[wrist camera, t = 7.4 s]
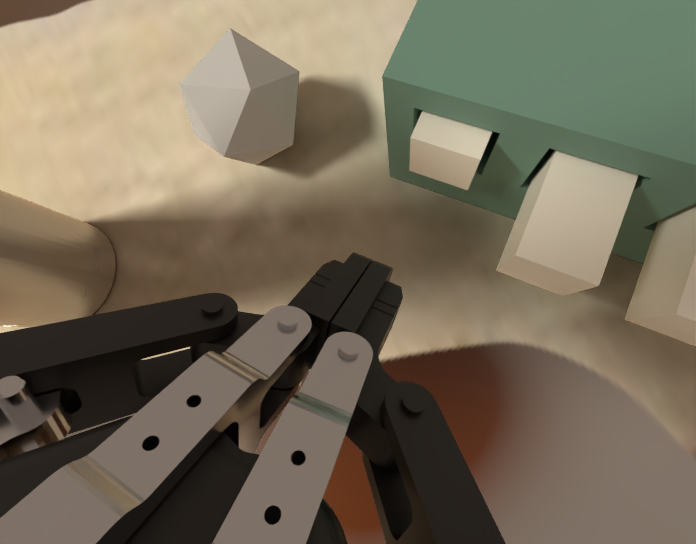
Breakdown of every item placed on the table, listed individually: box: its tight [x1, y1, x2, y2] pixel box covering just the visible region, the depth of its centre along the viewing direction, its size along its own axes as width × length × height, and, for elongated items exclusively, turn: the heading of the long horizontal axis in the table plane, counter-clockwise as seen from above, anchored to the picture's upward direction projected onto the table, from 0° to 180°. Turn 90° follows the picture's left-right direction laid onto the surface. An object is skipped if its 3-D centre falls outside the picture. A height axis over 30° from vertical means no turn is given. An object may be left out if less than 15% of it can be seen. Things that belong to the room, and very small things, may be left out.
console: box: [382, 0, 696, 264], centre depth 19 cm, size 22×10×16 cm, turn 66°
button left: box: [409, 111, 492, 190], centre depth 21 cm, size 4×6×4 cm, turn 156°
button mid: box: [496, 150, 638, 296], centre depth 19 cm, size 4×6×4 cm, turn 156°
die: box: [179, 29, 299, 165], centre depth 27 cm, size 8×9×10 cm
